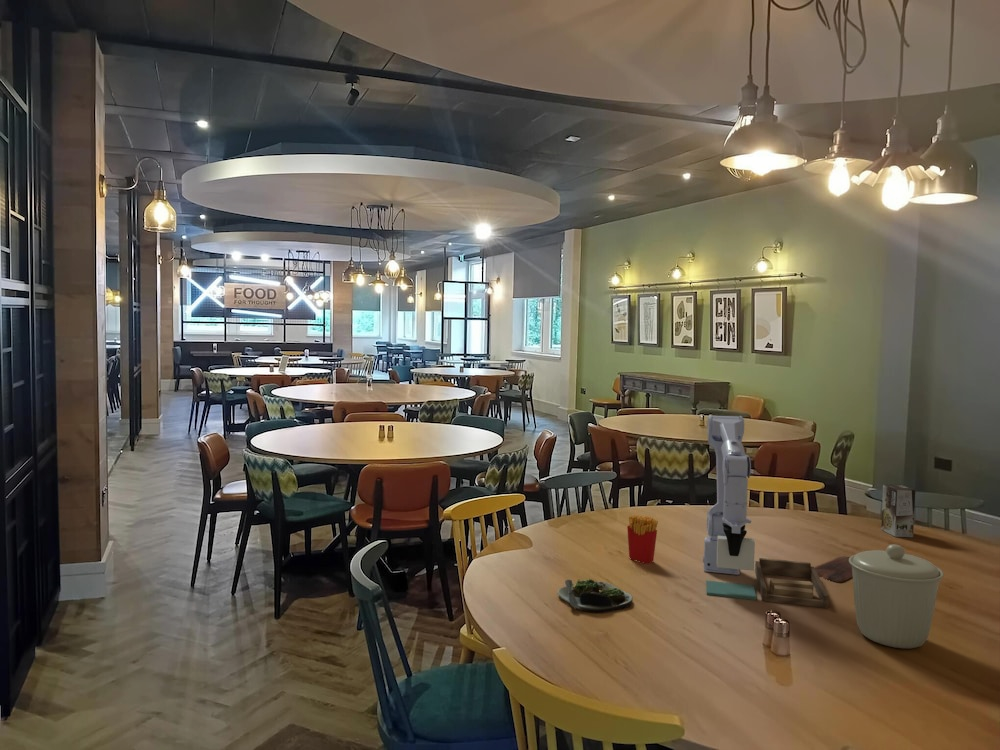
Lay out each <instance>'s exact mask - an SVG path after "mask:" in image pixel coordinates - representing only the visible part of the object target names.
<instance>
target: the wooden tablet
mask: <svg viewBox="0 0 1000 750" xmlns="http://www.w3.org/2000/svg"><path fill="white" fill-rule="evenodd" d="M850 557H851V556H847V555H846V556H844V555H842V556H838V557H836V558H833V559H831V560H828V561H826V562H823V563H821V564H819V565H816V566H814V568H815V570H816V572H817V574H818V576H819V578H822V577H823V578H822V579H824V580H826V579H827V581H829V580H830V581H829V582H832V581H833V583H838V584H840V583H842V582H843V583H844V582H846V581H848V580H849V579H853V574H852V565H851V564H850V563H849V558H850Z"/></svg>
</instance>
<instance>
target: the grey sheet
mask: <svg viewBox="0 0 1000 750" xmlns="http://www.w3.org/2000/svg"><path fill="white" fill-rule="evenodd" d="M755 547H756V541H755V538H751V537H750V538H749V537H744V538H743V541H742V544H741V548H740V552H739V555H738V556H730V554H729V549H728V541H727V537H726V536H718V540H717V567H721V568H731V569H739V570H741V571H742V570H744V571H753V572H755V553H756V552H755V549H756V548H755Z"/></svg>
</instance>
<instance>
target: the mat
mask: <svg viewBox="0 0 1000 750" xmlns="http://www.w3.org/2000/svg"><path fill="white" fill-rule="evenodd" d="M705 583H706V584H705V586H706V587H705V589H706V595H707V596H716V597H723V598H724V597H725V598H732V599H733V598H735V599H741V600H750V601H751V600H752V601H757V595H756V594H757V593H756V590H755V587H754V586H755V585H752V584H742V583H735V582H734V583H733V582H725V581H724V582H723V581H717V580H716V581H715V580H706V581H705Z"/></svg>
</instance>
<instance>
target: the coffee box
mask: <svg viewBox="0 0 1000 750" xmlns="http://www.w3.org/2000/svg"><path fill="white" fill-rule="evenodd" d="M916 492H917V491H916V489H914V488H911V487H909V486H907V485H903V484H897V483H896V484H894V483H892V484H882V499H881V500H882V503H881V527H880V529H881V531H883V532H885V533H887V534H889V535H890V536H893V537H896V538H913V537H914V525H915V509H916V508H915V507H916V505H915V504H916Z"/></svg>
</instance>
